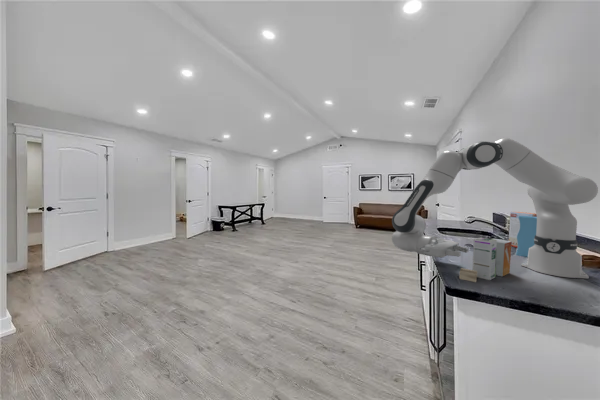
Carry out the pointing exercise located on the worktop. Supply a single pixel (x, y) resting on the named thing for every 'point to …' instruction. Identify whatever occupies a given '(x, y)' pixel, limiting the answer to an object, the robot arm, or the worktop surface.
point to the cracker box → (516, 226)
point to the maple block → (468, 275)
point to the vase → (526, 234)
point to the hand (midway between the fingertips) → (464, 252)
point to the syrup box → (484, 258)
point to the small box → (503, 257)
